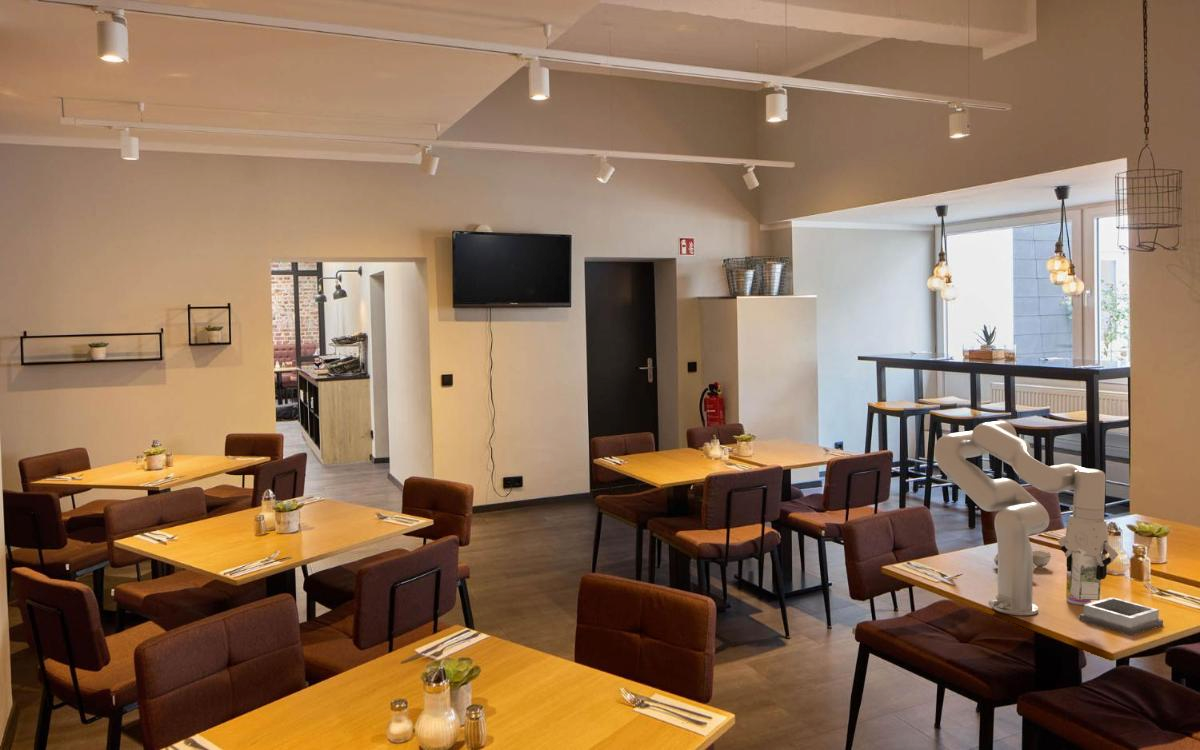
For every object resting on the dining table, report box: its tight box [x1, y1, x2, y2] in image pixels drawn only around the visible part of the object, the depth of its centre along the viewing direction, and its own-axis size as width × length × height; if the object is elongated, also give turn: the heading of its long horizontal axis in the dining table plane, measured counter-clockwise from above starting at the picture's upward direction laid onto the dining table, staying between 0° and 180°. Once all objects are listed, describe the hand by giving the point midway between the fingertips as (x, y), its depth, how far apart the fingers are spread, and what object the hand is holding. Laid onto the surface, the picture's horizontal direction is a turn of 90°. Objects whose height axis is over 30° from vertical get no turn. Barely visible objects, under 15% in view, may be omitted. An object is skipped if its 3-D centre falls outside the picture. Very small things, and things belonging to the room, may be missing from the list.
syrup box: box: [1070, 548, 1102, 601], centre depth 240 cm, size 6×6×14 cm
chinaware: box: [993, 549, 1053, 573], centre depth 297 cm, size 28×17×17 cm, turn 142°
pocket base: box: [1079, 596, 1164, 636], centre depth 246 cm, size 15×15×4 cm
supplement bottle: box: [1065, 570, 1092, 606], centre depth 264 cm, size 7×7×13 cm
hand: (1085, 574), depth 240 cm, fingers closed on syrup box, 7 cm apart
